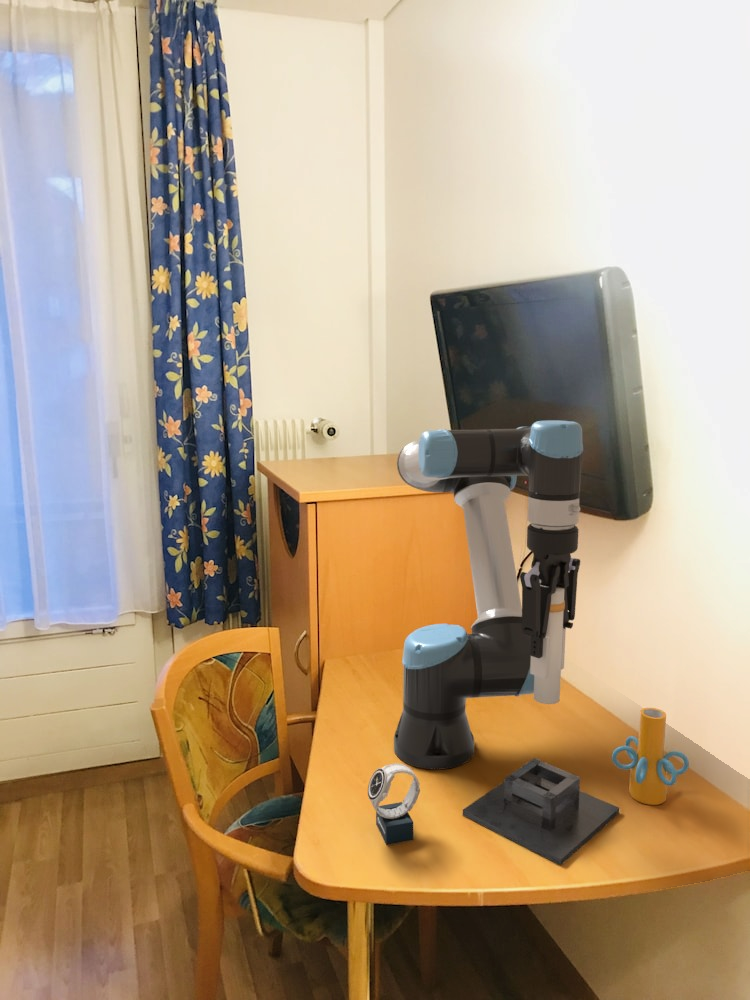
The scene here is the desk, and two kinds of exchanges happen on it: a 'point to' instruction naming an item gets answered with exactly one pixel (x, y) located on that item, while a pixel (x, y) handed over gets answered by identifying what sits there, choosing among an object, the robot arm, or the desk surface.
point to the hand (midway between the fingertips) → (547, 670)
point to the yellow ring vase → (650, 760)
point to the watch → (393, 816)
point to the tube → (552, 653)
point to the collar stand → (542, 811)
